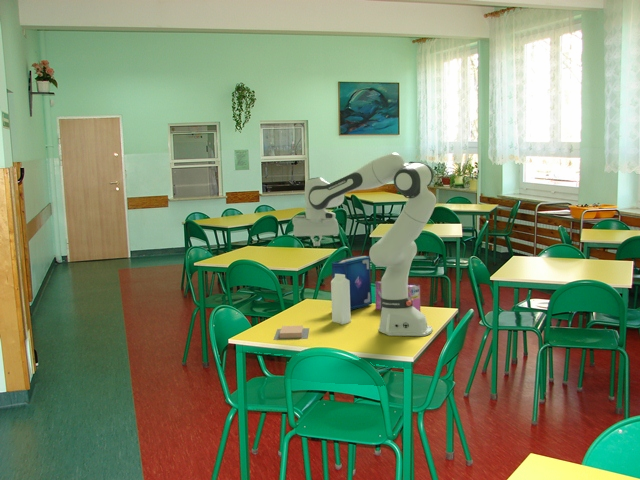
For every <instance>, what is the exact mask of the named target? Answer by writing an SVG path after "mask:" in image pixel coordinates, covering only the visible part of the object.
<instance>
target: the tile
mask: <svg viewBox="0 0 640 480" xmlns="http://www.w3.org/2000/svg"><path fill="white" fill-rule="evenodd" d="M303 328H304V325H281V328H280V329H281V331H280V338H301V337H302V334H303Z"/></svg>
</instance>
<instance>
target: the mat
mask: <svg viewBox="0 0 640 480" xmlns="http://www.w3.org/2000/svg"><path fill="white" fill-rule="evenodd" d="M280 331H281V328H277V329H276V331H275V334H274V338H273V341H278V340H281V341H282V340H284V341H285V340H308V339H309V334H310V327H306V328H305V327H303V334H302V337H301V338H280Z"/></svg>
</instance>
